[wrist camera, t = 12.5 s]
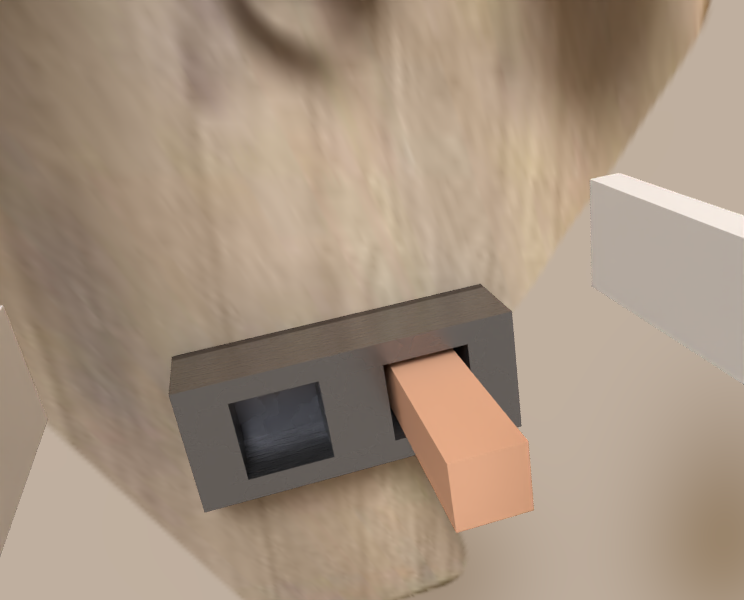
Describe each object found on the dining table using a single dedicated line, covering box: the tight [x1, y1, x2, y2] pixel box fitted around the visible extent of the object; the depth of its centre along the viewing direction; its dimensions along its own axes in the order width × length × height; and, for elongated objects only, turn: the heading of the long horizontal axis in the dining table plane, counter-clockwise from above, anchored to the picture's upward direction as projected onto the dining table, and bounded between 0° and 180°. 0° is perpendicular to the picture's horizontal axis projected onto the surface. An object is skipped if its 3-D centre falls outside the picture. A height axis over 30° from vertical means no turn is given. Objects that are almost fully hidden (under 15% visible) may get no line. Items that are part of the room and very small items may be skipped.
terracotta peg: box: [383, 348, 534, 533], centre depth 39 cm, size 4×4×14 cm
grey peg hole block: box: [169, 284, 521, 512], centre depth 43 cm, size 20×8×5 cm, turn 99°
